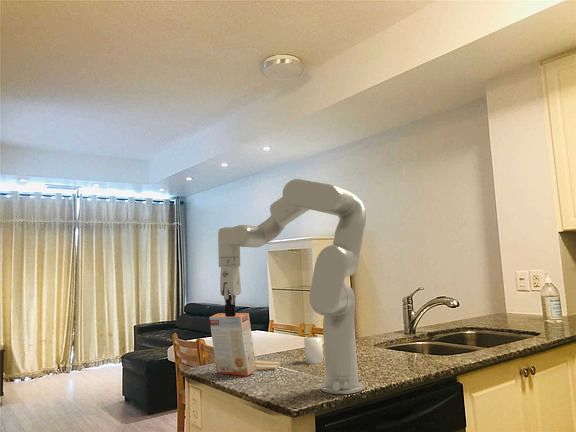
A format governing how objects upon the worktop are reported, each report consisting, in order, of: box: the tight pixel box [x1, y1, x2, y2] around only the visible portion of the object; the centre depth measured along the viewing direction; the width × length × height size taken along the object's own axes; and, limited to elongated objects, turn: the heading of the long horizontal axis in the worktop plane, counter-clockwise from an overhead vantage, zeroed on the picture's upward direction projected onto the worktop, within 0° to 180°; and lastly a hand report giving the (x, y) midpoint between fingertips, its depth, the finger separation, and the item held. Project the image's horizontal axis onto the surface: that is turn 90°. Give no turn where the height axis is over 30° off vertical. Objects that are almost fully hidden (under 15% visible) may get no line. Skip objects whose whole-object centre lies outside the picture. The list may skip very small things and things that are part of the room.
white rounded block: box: [303, 336, 324, 365], centre depth 170 cm, size 7×7×9 cm
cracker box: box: [209, 312, 256, 377], centre depth 156 cm, size 14×6×21 cm, turn 59°
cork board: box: [255, 358, 283, 371], centre depth 167 cm, size 16×18×1 cm
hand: (230, 316), depth 149 cm, fingers closed
